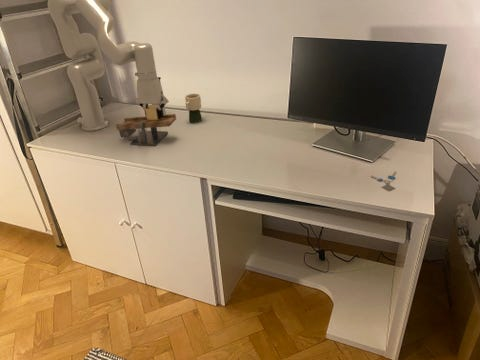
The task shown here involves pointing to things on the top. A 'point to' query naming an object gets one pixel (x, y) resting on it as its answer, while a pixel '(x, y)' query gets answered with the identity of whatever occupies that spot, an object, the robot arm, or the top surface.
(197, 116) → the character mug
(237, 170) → the top surface
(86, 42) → the robot arm
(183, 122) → the top surface
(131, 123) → the beam
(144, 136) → the stand
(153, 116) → the tan block
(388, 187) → the key chain
